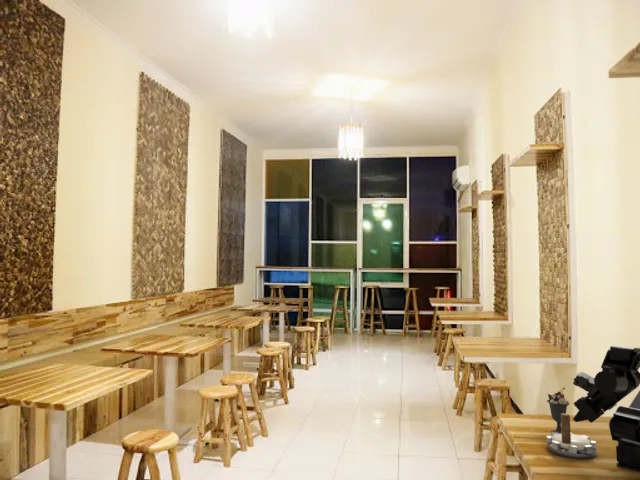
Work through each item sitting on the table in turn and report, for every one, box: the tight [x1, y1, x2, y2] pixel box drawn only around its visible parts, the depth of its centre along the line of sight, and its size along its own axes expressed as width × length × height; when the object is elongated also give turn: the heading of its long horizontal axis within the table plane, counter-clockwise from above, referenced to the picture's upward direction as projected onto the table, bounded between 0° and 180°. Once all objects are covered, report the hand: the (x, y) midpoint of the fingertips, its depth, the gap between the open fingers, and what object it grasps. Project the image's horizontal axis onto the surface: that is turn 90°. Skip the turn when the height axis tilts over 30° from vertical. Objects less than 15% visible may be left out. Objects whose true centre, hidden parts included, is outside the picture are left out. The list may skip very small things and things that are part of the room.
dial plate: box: [546, 432, 597, 460], centre depth 144 cm, size 13×13×3 cm
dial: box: [552, 413, 591, 451], centre depth 144 cm, size 10×10×10 cm
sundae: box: [546, 387, 570, 434], centre depth 159 cm, size 7×7×15 cm
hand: (574, 420), depth 141 cm, fingers closed
